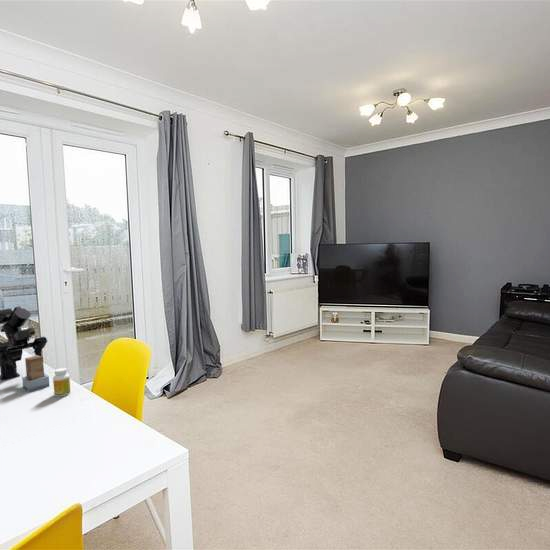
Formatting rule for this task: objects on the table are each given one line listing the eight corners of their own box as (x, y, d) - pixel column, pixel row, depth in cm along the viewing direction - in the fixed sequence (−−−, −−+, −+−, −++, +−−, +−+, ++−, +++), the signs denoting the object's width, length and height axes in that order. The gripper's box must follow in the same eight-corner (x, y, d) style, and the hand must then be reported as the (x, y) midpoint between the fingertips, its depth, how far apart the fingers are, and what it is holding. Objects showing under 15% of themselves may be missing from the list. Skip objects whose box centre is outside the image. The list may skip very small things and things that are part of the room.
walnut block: (27, 384, 151) (25, 358, 150) (39, 381, 155) (37, 355, 154) (32, 387, 149) (30, 360, 148) (44, 383, 153) (42, 356, 151)
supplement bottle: (65, 397, 142) (63, 372, 140) (51, 397, 142) (49, 372, 141) (73, 391, 147) (71, 367, 146) (59, 391, 147) (57, 367, 146)
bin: (22, 386, 152) (22, 377, 151) (43, 381, 157) (42, 372, 157) (28, 391, 147) (28, 381, 147) (49, 385, 152) (48, 376, 152)
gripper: (-8, 327, 147) (7, 359, 142) (43, 318, 162) (58, 347, 158) (-14, 343, 152) (0, 375, 147) (36, 333, 168) (50, 361, 163)
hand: (28, 364), depth 154 cm, fingers open, 9 cm apart
